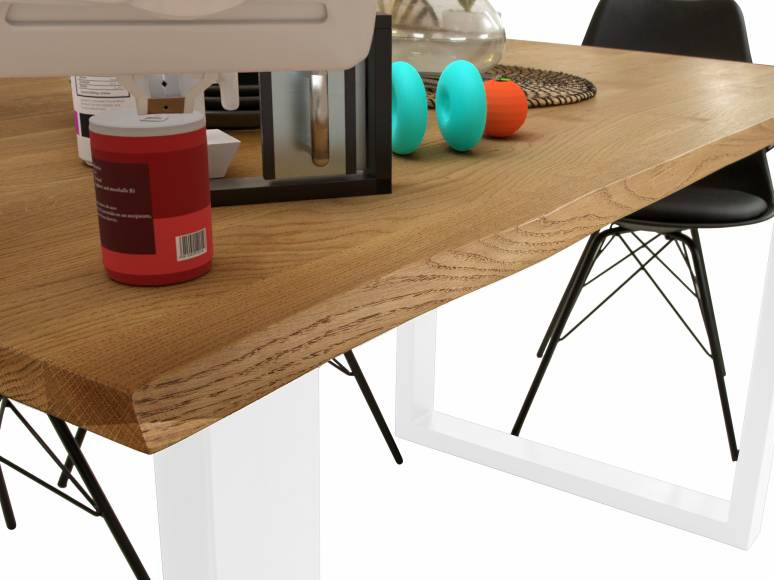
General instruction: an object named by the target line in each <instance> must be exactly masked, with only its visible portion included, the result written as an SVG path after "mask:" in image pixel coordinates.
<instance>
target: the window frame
mask: <svg viewBox="0 0 774 580" xmlns="http://www.w3.org/2000/svg"><path fill="white" fill-rule="evenodd" d="M392 63H393V14H389V13H386V12H382V11H379V10H376V17H375V26H374V32H373V37H372V42H371V46H370V50H369V53H368V55H367V57H366V58H365V59H364V60H362V61H361V62H360V63H358V64H357V65H355V77H356V163H357V174H350V175H346V174H344V175H329V176H314V177H300V178H285V179H275V180H264V179H263V175H262V176H249V177H248V176H247V177H232V178H214V179H209V182H210V200H211V208H214V207H226V206H227V207H228V206H241V205H253V204H267V203H279V202H293V200H295V201H306V200H305V199H308V200H321V199H333V198H334V199H335V198H346V197H360V196H372V195H385V194H392V193H393V151H392Z"/></svg>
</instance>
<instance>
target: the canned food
mask: <svg viewBox="0 0 774 580" xmlns="http://www.w3.org/2000/svg"><path fill="white" fill-rule="evenodd" d="M205 119H206V117H205V118H204V115H203V114H202V113H200V112H198V111H194V110H193V113H185V114H184V113H183V114H147V115H137V110H136V108H126V109H117V110H111V111H106V112H102V113H98V114H96V115H94V116H92V117H90V118H89V134H90V147H91V157H92V166H91V167H92V174H93V184H94V193H95V202H96V203H95V204H96V211H97V221H98V229H99V230H98V231H99V241H100V247H101V258H102V259H101V260H102V265H103V268H104V270H105V272H106V274H107V276H108V277H109V278H111V279H112V280H114V281H115V282H118V283H121V284H126V285H129V286H139V287H140V286H141V287H156V286H157V287H159V286H167V285H175V284H180V283H185V282H189V281H191V280H194V279H197V278H199V277H201V276H203V275H204V274H206V273H207V272H209V270H210V269H211V266H212V263H213V258H214V254H215V253H214V238H213V237H214V236H213V221H212V220H213V218H212V207H211V200H210V182H209V180H210V179H209V165H208V147H207V135H206V130H207V124H206V123H207V122H206V123H205Z"/></svg>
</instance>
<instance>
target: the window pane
mask: <svg viewBox="0 0 774 580" xmlns="http://www.w3.org/2000/svg"><path fill="white" fill-rule="evenodd" d="M257 74H258V75H257V77H258V100H259V102H258V103H259V120H260V123H259V124H260V143H261V144H260V145H261V147H260V148H261V165H262V167H261V168H262V176H263V179H264V180H275V179H285V178H300V177H314V176H329V175H344V174H346V175H350V174H357V163H356V77H355V66H354V67H352V68H350V69H347V70H322V71H278V72H257Z"/></svg>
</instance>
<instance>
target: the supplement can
mask: <svg viewBox="0 0 774 580" xmlns="http://www.w3.org/2000/svg"><path fill="white" fill-rule="evenodd" d="M69 77H70V84H71V93H72V95H71V96H72V104H73V113H74V114H73V115H74V122H75V131H76V142H77V152H78V158H80V159H81V160H82V161H84V162H85V164H86V165H88V166H90V167H93V166H92V157H91V147H90V134H89V118H90V117H92V116H94V115H96V114H98V113H102V112H106V111H111V110H117V109H126V108H136V103H135V97H133V96H132V95H131V94H130V93H129V92H128V91H127V90H126V89H124V88H123V87H122V86H121V85H120V84H119V83H118V82H117V81H116V75H105V76H69Z"/></svg>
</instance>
